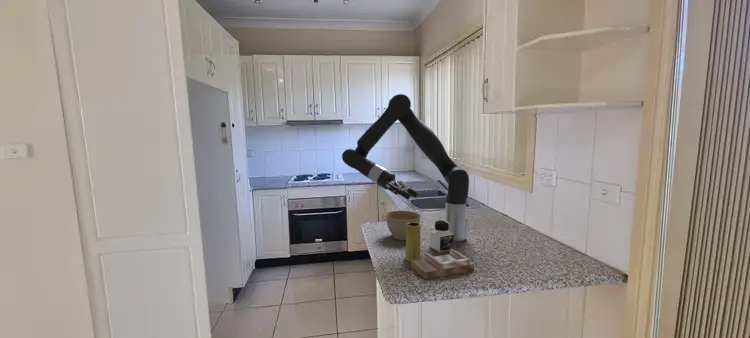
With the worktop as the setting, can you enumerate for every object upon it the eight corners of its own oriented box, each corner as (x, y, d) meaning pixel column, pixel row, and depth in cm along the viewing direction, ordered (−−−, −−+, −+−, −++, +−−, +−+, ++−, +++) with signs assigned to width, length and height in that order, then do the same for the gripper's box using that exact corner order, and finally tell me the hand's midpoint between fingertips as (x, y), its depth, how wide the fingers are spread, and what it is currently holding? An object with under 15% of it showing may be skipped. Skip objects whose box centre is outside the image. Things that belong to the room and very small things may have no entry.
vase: (403, 256, 135) (404, 222, 133) (418, 256, 135) (419, 221, 134) (406, 262, 129) (407, 226, 127) (422, 262, 129) (423, 226, 127)
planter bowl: (386, 243, 150) (387, 219, 148) (384, 232, 166) (384, 210, 164) (422, 243, 150) (423, 219, 149) (417, 231, 166) (417, 210, 165)
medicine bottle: (439, 252, 139) (440, 224, 138) (429, 247, 145) (430, 220, 144) (453, 250, 142) (454, 222, 141) (442, 244, 149) (443, 218, 147)
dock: (455, 259, 132) (456, 248, 132) (473, 270, 122) (474, 258, 122) (410, 266, 125) (411, 255, 124) (425, 279, 115) (426, 266, 114)
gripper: (377, 169, 134) (411, 189, 128) (392, 168, 147) (423, 187, 141) (370, 185, 136) (402, 206, 130) (385, 183, 149) (415, 202, 142)
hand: (413, 196), depth 135 cm, fingers open, 8 cm apart
